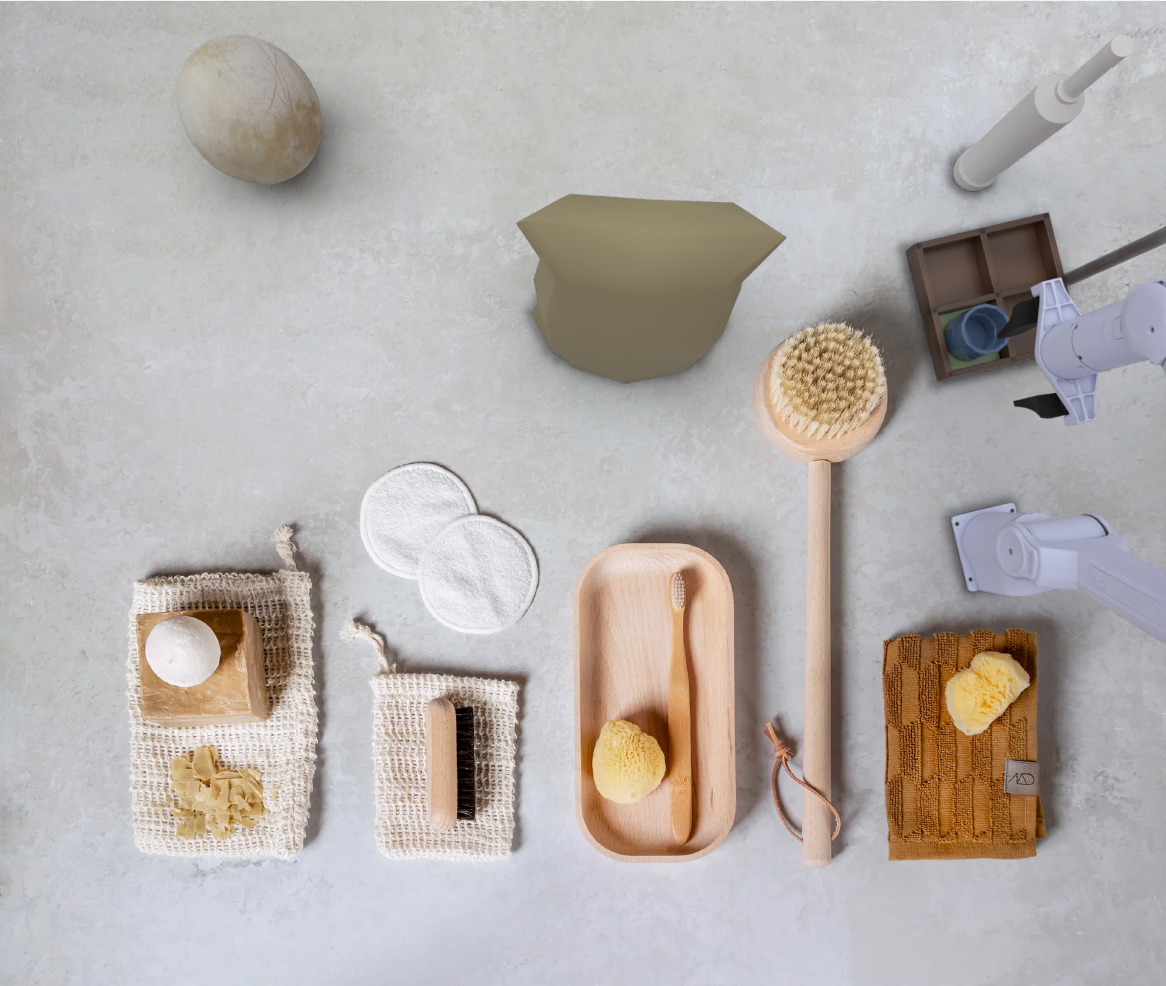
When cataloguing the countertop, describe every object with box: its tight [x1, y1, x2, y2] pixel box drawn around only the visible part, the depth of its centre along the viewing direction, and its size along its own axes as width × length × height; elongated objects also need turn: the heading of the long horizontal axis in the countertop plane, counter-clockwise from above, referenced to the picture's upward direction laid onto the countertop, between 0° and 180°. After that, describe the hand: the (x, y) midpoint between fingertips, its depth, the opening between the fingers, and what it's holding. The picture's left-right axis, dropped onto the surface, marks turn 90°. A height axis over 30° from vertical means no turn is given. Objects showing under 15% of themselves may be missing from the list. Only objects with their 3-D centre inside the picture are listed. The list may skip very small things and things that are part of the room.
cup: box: [945, 304, 1010, 361], centre depth 87 cm, size 6×6×4 cm
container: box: [515, 193, 787, 384], centre depth 75 cm, size 24×17×30 cm
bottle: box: [952, 34, 1134, 192], centre depth 78 cm, size 5×5×25 cm
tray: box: [905, 211, 1166, 382], centre depth 79 cm, size 17×19×23 cm
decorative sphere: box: [176, 34, 323, 185], centre depth 82 cm, size 15×15×15 cm
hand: (1013, 368), depth 81 cm, fingers open, 7 cm apart
